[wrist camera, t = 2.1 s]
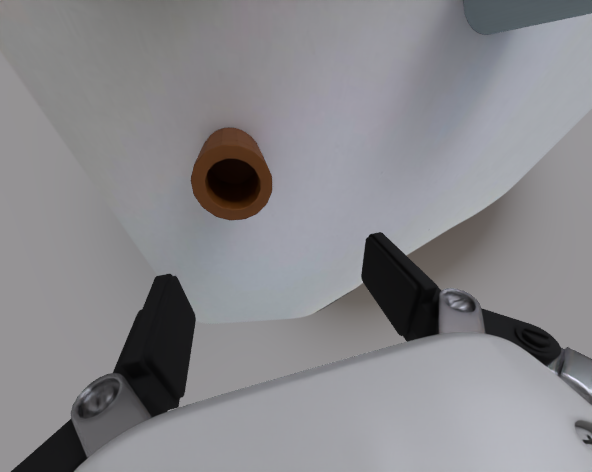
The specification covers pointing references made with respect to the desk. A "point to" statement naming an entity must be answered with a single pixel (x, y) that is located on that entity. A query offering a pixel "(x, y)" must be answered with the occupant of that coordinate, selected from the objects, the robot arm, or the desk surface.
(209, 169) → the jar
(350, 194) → the desk surface
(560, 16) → the mug
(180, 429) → the robot arm
